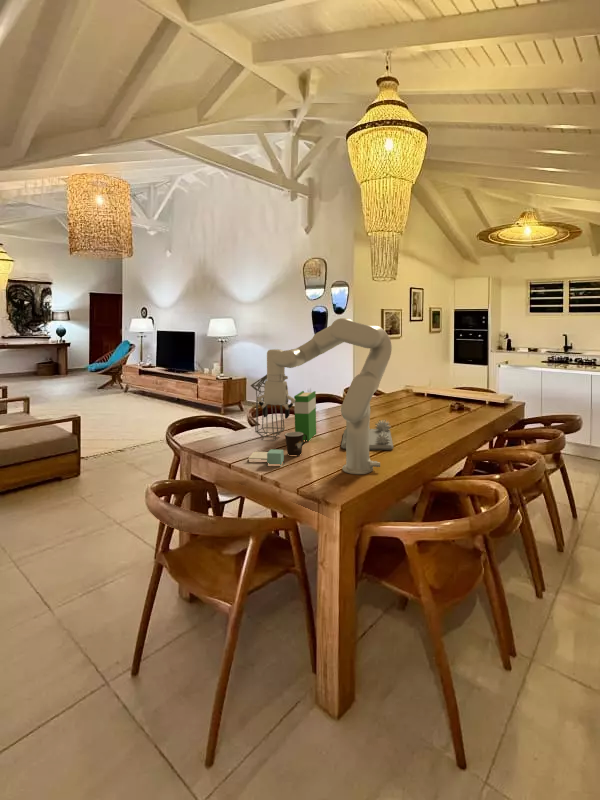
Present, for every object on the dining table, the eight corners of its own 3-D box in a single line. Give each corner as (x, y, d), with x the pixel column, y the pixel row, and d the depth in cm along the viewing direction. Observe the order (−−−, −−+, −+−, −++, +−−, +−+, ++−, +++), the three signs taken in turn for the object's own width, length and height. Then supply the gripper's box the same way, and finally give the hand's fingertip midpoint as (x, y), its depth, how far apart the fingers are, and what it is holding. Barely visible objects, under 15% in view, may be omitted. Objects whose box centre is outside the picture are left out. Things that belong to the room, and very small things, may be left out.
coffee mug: (288, 458, 208) (287, 437, 206) (283, 453, 216) (282, 432, 215) (312, 455, 211) (311, 434, 209) (306, 450, 219) (306, 430, 218)
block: (283, 462, 202) (283, 449, 201) (281, 466, 196) (280, 453, 195) (270, 462, 203) (270, 449, 202) (267, 466, 197) (267, 453, 196)
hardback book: (303, 433, 254) (302, 391, 250) (316, 433, 252) (315, 391, 248) (295, 441, 237) (294, 396, 233) (309, 441, 236) (308, 396, 232)
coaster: (275, 456, 212) (275, 452, 211) (270, 462, 202) (270, 458, 201) (254, 455, 213) (254, 451, 213) (248, 462, 204) (248, 457, 203)
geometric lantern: (251, 441, 240) (248, 375, 235) (263, 435, 254) (260, 372, 249) (279, 442, 235) (276, 375, 230) (289, 436, 249) (287, 372, 244)
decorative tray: (344, 433, 254) (344, 416, 252) (391, 434, 250) (391, 416, 248) (340, 451, 219) (340, 430, 218) (395, 451, 216) (395, 431, 214)
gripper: (297, 378, 196) (297, 416, 199) (259, 376, 200) (260, 414, 203) (292, 380, 189) (292, 420, 192) (253, 378, 193) (254, 418, 196)
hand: (276, 417), depth 198 cm, fingers open, 9 cm apart
